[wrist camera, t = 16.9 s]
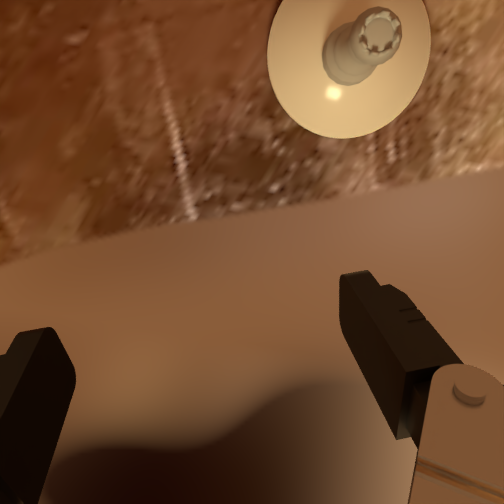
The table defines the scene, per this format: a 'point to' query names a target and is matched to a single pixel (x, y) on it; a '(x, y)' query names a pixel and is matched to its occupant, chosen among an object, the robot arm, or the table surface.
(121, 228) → the table surface
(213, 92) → the table surface
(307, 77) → the cream plate
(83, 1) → the table surface
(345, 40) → the rook chess piece
